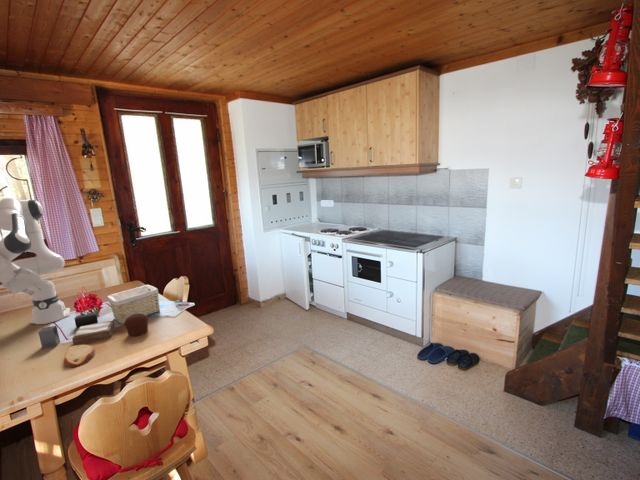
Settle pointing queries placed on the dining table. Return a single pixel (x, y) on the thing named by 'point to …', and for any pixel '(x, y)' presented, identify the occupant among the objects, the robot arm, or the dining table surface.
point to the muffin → (136, 324)
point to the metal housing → (49, 337)
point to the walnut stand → (93, 332)
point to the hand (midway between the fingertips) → (38, 291)
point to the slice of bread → (78, 355)
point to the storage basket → (134, 302)
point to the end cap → (86, 319)
